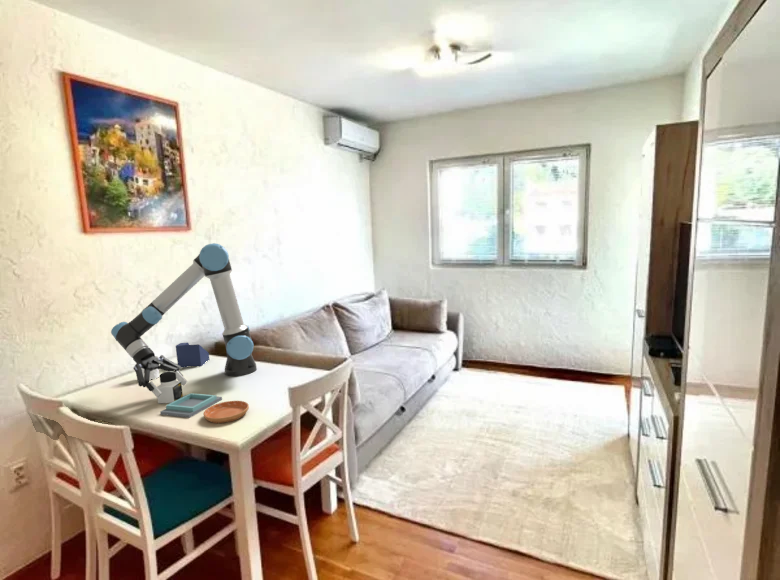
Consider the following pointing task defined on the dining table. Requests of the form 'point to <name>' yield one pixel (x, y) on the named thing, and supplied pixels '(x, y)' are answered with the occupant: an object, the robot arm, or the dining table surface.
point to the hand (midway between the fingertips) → (172, 389)
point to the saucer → (226, 411)
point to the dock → (190, 405)
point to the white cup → (152, 373)
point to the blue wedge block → (191, 355)
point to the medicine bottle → (169, 388)
